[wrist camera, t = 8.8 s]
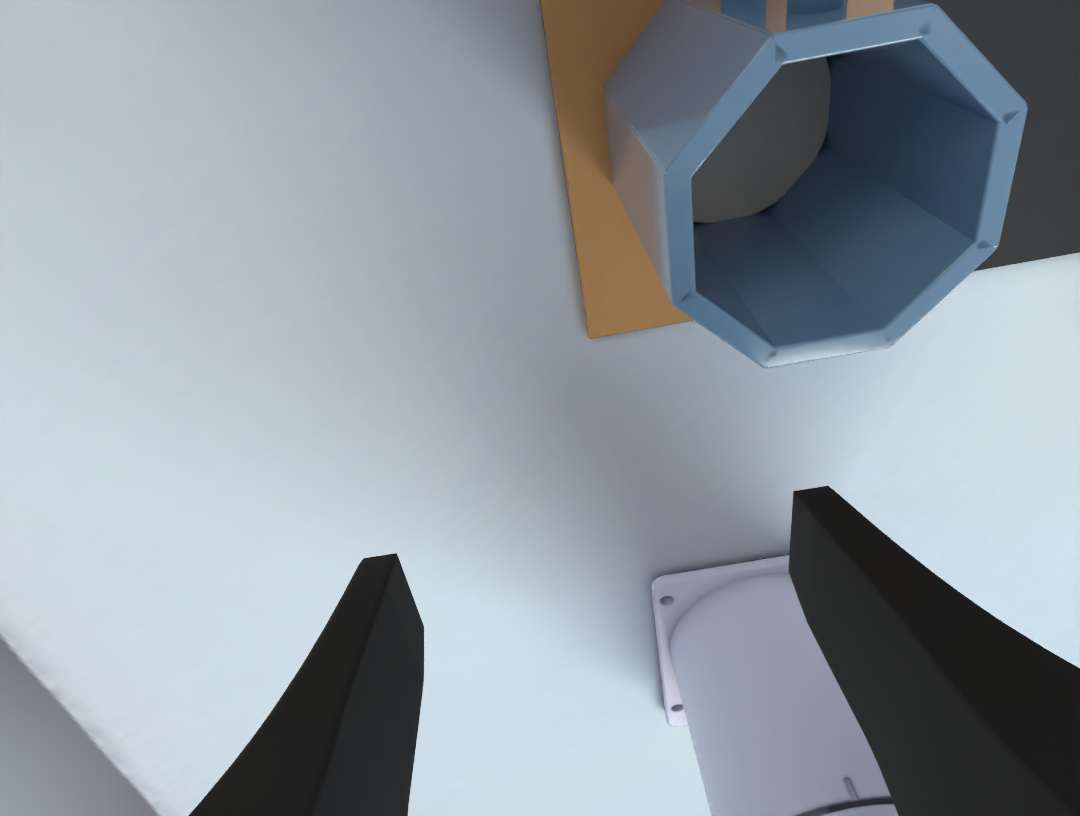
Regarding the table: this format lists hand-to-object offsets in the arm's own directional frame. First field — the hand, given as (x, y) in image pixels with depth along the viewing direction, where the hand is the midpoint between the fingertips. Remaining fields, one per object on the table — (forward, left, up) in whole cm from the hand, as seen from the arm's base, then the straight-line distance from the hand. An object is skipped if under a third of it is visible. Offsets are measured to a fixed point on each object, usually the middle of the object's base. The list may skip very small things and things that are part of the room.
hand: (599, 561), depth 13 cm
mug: (+6, -5, -9) cm, 12 cm away
